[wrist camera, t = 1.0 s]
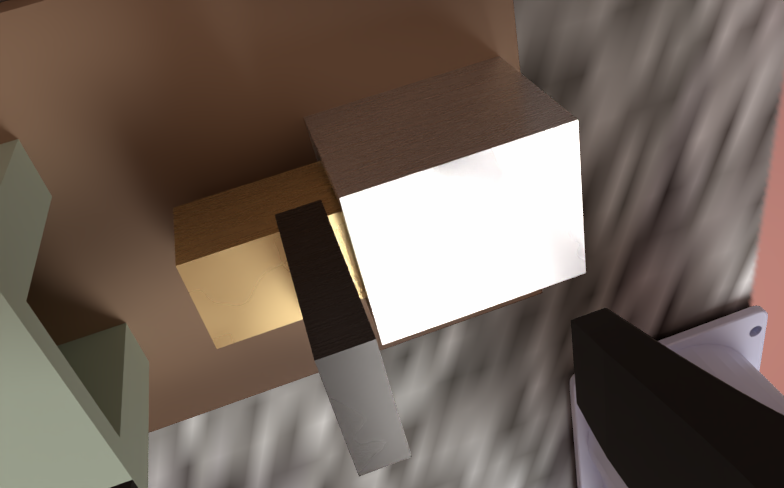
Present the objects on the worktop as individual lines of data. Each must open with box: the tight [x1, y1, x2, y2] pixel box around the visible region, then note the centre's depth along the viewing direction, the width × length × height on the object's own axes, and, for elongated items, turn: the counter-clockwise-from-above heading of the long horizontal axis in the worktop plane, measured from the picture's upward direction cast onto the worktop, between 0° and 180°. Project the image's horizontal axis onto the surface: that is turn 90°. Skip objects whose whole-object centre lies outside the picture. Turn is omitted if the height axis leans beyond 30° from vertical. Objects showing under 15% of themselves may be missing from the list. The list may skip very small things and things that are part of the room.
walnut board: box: [0, 0, 542, 433], centre depth 18 cm, size 12×15×1 cm
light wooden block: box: [173, 161, 412, 476], centre depth 15 cm, size 3×8×7 cm, turn 102°
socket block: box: [0, 139, 149, 488], centre depth 15 cm, size 7×4×5 cm, turn 12°
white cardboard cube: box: [304, 56, 586, 345], centre depth 16 cm, size 4×5×4 cm
